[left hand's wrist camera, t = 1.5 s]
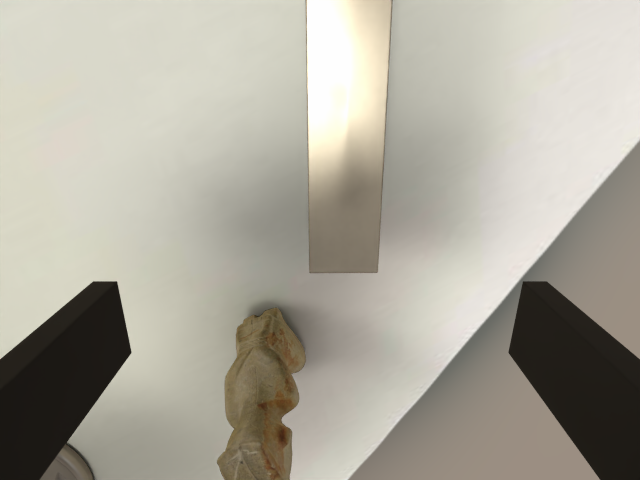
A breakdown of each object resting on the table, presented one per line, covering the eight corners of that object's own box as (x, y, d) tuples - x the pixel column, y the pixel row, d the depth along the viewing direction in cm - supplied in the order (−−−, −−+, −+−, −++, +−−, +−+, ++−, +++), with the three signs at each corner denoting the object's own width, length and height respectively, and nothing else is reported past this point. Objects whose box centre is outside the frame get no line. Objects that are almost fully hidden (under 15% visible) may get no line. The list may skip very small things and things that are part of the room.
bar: (364, 232, 34) (377, 273, 27) (311, 232, 34) (309, 273, 27) (376, -71, 27) (400, -137, 19) (308, -71, 27) (303, -137, 19)
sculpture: (260, 370, 39) (228, 524, 25) (230, 311, 37) (177, 445, 23) (315, 354, 39) (313, 503, 25) (288, 293, 36) (269, 419, 22)
